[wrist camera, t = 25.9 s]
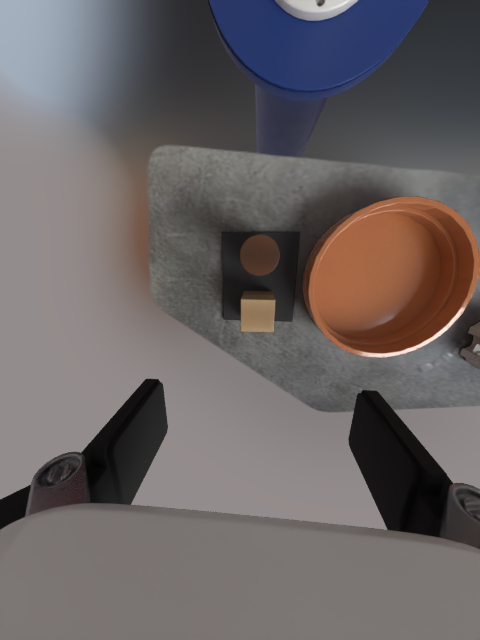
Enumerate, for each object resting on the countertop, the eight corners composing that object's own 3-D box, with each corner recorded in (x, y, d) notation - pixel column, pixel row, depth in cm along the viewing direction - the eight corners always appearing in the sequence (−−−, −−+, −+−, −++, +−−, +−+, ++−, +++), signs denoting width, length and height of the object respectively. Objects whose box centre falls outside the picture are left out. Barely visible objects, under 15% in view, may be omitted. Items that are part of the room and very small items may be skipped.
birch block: (243, 290, 31) (240, 299, 26) (272, 291, 31) (275, 299, 25) (243, 318, 32) (240, 331, 27) (271, 318, 32) (273, 332, 27)
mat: (222, 232, 29) (222, 232, 29) (299, 232, 29) (299, 232, 28) (223, 318, 33) (223, 319, 33) (292, 320, 32) (292, 321, 32)
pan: (308, 205, 28) (317, 197, 23) (465, 204, 26) (506, 195, 22) (296, 340, 33) (302, 354, 29) (425, 345, 32) (451, 360, 27)
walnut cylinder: (244, 238, 29) (239, 234, 22) (275, 238, 29) (280, 234, 21) (244, 269, 30) (239, 275, 23) (273, 269, 30) (278, 276, 23)
